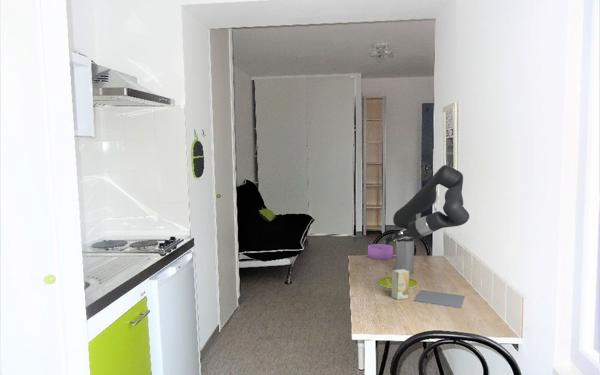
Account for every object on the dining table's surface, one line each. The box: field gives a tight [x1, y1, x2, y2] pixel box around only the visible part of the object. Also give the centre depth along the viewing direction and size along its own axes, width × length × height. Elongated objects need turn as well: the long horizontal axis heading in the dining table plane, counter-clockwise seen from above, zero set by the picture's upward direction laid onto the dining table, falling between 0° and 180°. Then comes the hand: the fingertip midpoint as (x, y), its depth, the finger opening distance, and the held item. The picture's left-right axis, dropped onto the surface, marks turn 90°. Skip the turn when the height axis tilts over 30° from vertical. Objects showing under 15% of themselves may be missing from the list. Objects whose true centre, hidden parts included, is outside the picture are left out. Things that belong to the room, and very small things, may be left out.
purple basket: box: [367, 243, 394, 261], centre depth 273 cm, size 25×15×13 cm, turn 76°
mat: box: [413, 289, 466, 309], centre depth 197 cm, size 16×19×1 cm
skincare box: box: [391, 269, 410, 301], centre depth 198 cm, size 6×4×12 cm
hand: (391, 240), depth 198 cm, fingers open, 8 cm apart
